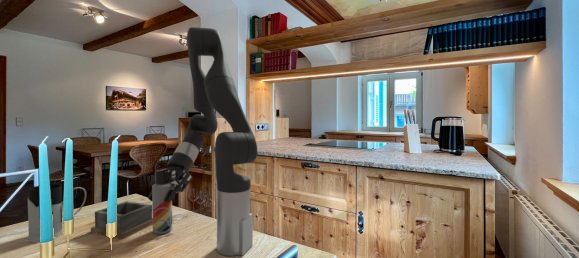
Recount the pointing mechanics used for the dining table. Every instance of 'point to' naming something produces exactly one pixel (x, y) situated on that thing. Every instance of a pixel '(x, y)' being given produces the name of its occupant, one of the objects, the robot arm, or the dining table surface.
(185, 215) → the dining table surface
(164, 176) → the lotion bottle
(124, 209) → the dark grey open box
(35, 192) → the grey mug
